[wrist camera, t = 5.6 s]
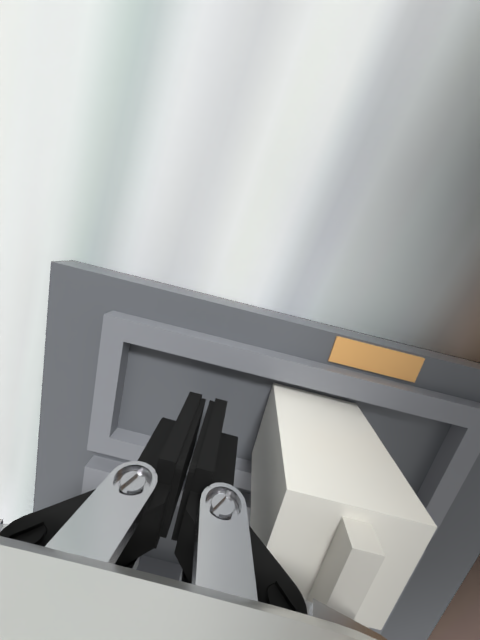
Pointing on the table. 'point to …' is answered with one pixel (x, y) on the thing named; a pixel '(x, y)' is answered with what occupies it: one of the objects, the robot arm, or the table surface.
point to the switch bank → (251, 405)
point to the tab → (335, 505)
